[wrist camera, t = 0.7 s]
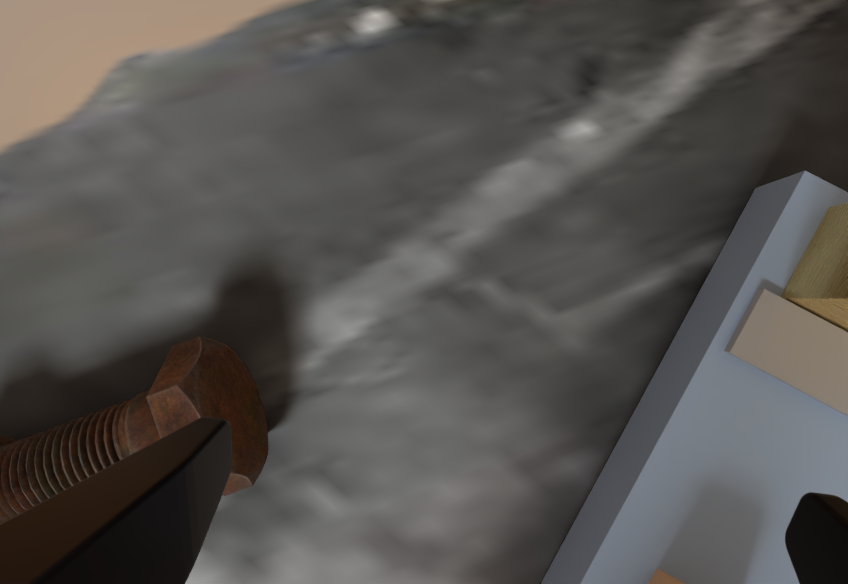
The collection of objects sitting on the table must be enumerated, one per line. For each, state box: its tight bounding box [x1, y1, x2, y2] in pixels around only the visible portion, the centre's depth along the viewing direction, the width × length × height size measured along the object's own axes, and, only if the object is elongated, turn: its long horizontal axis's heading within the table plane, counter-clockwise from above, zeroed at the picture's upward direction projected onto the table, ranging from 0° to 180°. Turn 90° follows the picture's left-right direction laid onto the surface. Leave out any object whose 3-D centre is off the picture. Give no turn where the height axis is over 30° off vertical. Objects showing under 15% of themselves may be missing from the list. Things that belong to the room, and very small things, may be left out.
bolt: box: [0, 336, 268, 524], centre depth 21 cm, size 6×5×15 cm
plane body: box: [541, 171, 848, 584], centre depth 18 cm, size 18×7×7 cm, turn 152°
